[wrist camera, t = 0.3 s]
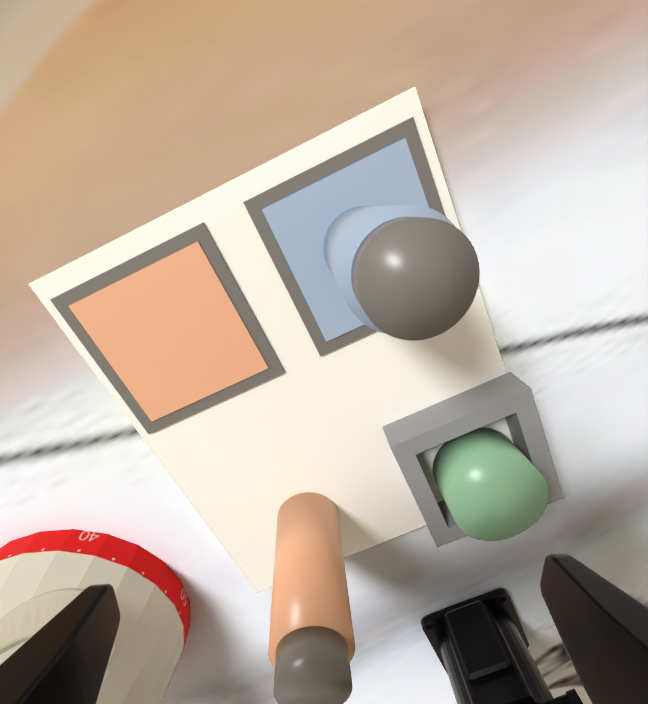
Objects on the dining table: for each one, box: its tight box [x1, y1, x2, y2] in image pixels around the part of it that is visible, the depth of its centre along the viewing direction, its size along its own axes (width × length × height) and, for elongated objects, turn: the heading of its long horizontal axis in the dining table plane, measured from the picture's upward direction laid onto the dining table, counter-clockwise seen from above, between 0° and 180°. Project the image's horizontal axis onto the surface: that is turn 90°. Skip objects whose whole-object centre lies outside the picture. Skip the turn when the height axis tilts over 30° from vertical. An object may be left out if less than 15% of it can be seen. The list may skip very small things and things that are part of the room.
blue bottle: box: [324, 204, 479, 341], centre depth 14 cm, size 4×4×9 cm
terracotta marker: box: [268, 492, 355, 704], centre depth 19 cm, size 4×4×9 cm
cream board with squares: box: [29, 87, 563, 593], centre depth 20 cm, size 22×19×3 cm
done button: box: [433, 427, 549, 541], centre depth 20 cm, size 5×5×3 cm
